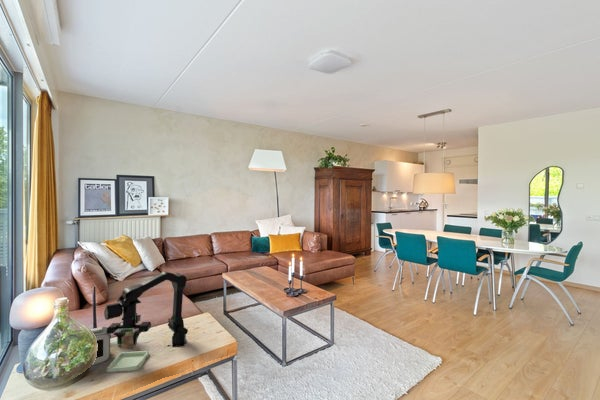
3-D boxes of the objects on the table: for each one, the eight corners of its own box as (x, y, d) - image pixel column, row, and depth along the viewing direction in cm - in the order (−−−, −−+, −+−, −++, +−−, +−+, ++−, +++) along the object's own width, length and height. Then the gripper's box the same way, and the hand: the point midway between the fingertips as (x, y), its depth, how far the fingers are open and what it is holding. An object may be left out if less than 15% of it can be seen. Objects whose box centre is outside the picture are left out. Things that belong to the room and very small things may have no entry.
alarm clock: (68, 371, 134) (68, 339, 134) (70, 360, 143) (70, 329, 143) (110, 360, 144) (110, 330, 144) (109, 350, 153) (109, 321, 153)
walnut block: (136, 343, 145) (136, 331, 145) (132, 348, 140) (132, 336, 140) (126, 343, 144) (126, 332, 144) (121, 349, 139) (121, 337, 139)
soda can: (125, 348, 156) (125, 326, 155) (113, 346, 157) (114, 324, 157) (135, 341, 163) (136, 320, 163) (124, 339, 164) (124, 319, 164)
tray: (148, 354, 150) (148, 350, 150) (138, 370, 136) (138, 366, 136) (120, 355, 148) (120, 352, 148) (106, 372, 134) (106, 368, 134)
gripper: (155, 306, 151) (154, 335, 152) (117, 307, 148) (116, 337, 149) (147, 315, 140) (146, 346, 141) (106, 316, 137) (105, 348, 138)
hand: (129, 344), depth 142 cm, fingers closed on walnut block, 5 cm apart
